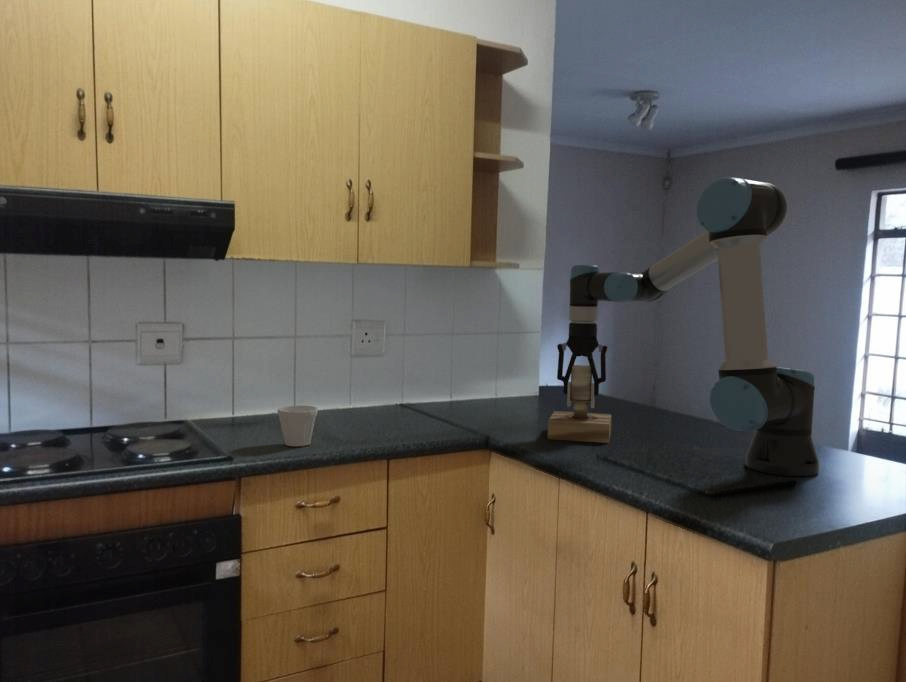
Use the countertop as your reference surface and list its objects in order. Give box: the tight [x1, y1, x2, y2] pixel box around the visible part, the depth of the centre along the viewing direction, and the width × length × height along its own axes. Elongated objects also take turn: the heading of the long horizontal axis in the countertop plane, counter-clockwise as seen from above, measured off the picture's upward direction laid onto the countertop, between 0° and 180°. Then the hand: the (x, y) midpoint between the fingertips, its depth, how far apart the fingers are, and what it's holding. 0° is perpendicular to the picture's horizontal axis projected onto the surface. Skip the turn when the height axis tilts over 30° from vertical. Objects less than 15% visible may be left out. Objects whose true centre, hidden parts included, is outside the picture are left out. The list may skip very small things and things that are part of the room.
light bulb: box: [570, 364, 593, 418], centre depth 195 cm, size 6×6×14 cm
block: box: [547, 410, 612, 444], centre depth 195 cm, size 15×16×5 cm
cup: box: [277, 405, 319, 448], centre depth 180 cm, size 10×10×9 cm
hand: (580, 406), depth 195 cm, fingers closed on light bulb, 6 cm apart
